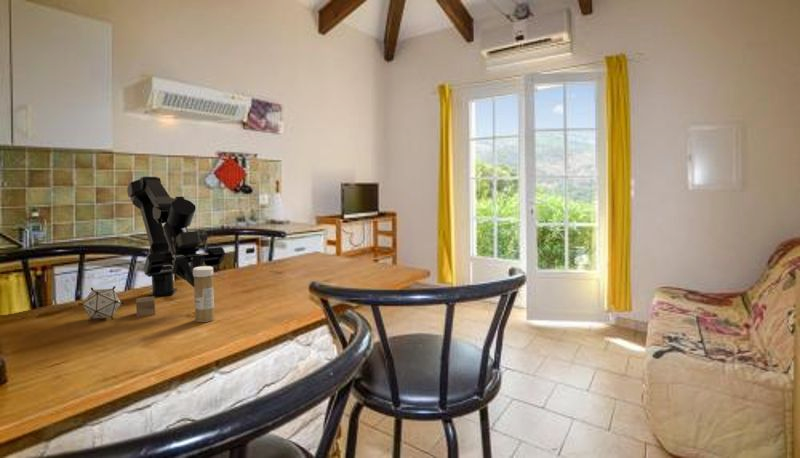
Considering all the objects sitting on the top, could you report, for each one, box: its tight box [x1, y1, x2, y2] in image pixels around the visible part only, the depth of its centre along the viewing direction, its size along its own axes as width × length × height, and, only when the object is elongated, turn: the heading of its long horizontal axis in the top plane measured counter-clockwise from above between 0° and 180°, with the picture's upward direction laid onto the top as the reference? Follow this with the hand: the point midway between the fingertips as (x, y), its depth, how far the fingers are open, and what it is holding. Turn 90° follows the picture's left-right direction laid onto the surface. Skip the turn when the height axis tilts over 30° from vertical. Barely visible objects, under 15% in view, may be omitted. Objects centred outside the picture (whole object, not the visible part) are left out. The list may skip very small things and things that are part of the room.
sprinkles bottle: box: [193, 265, 216, 323], centre depth 102 cm, size 5×5×14 cm
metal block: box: [135, 296, 156, 318], centre depth 107 cm, size 4×4×4 cm
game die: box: [77, 285, 125, 323], centre depth 103 cm, size 9×8×10 cm
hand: (195, 285), depth 106 cm, fingers closed
